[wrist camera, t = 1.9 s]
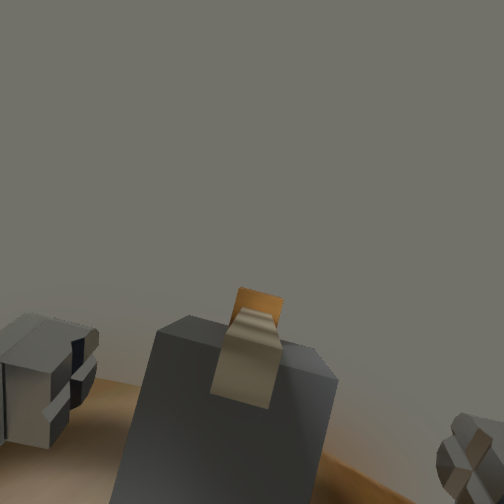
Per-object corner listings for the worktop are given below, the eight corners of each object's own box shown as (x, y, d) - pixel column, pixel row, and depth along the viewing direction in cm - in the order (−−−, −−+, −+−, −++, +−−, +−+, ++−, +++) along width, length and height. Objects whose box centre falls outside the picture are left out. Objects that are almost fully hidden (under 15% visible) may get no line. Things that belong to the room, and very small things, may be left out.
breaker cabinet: (249, 755, 24) (338, 380, 26) (56, 693, 25) (156, 330, 27) (252, 593, 37) (313, 347, 39) (124, 555, 37) (189, 314, 39)
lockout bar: (284, 413, 16) (307, 320, 17) (193, 388, 17) (217, 296, 17) (270, 336, 38) (280, 297, 39) (231, 326, 38) (241, 286, 39)
